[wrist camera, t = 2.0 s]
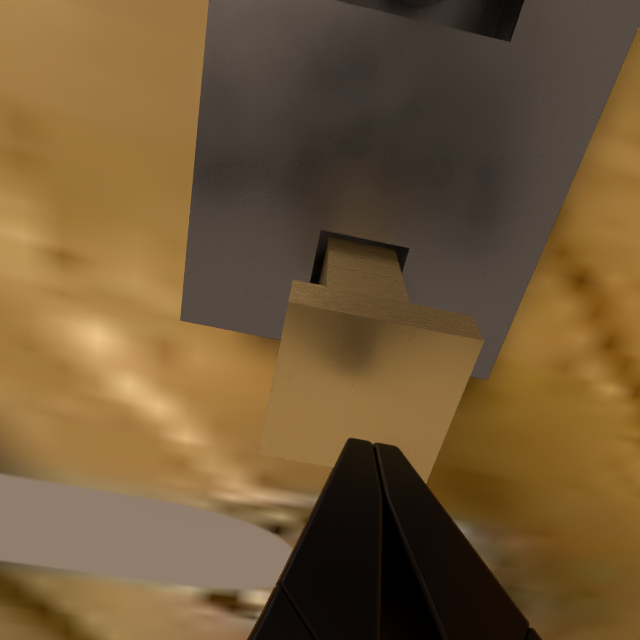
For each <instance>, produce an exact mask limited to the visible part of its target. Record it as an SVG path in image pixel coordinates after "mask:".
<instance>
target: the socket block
mask: <svg viewBox="0 0 640 640" xmlns="http://www.w3.org/2000/svg"><path fill="white" fill-rule="evenodd" d="M639 25H640V0H442V1H439V2H437V3H434V4H431V5H426V6H413V5H408V4H405V3H402V2H400V1H398V0H209V7H208V18H207V29H206V40H205V51H204V63H203V74H202V85H201V96H200V107H199V118H198V129H197V140H196V151H195V162H194V174H193V185H192V196H191V207H190V218H189V229H188V240H187V251H186V262H185V273H184V284H183V296H182V307H181V318H180V321H185V322H190V323H195V324H201V325H206V326H211V327H216V328H221V329H226V330H232V331H237V332H242V333H247V334H252V335H257V336H263V337H268V338H273V339H278V340H281V337H282V332H283V326H284V321H285V316H286V311H287V306H288V301H289V296H290V291H291V286H292V281H293V280H297V281H302V282H307V283H312V284H317V285H319V280H320V276H321V271H322V267H323V262H324V258H325V253H326V249H327V244H328V240H329V236H331V237H336V238H341V239H345V240H350V241H355V242H360V243H365V244H369V245H374V246H379V247H384V248H389V249H393V250H395V251H396V255H397V259H398V262H399V266H400V269H401V273H402V276H403V280H404V283H405V287H406V291H407V294H408V298H409V301H410V303H412V304H417V305H421V306H426V307H431V308H436V309H441V310H446V311H451V312H456V313H461V314H466V315H471V316H472V317H473V319H474V321H475V323H476V325H477V327H478V329H479V331H480V333H481V335H482V337H483V339H484V343H483V346H482V348H481V351H480V353H479V355H478V358H477V360H476V363H475V365H474V368H473V370H472V373H471V375H470V377H474V378H480V379H485V380H487V379H488V377H489V375H490V372H491V370H492V368H493V365H494V363H495V361H496V358H497V356H498V354H499V351H500V349H501V347H502V344H503V342H504V340H505V337H506V335H507V333H508V330H509V328H510V326H511V323H512V321H513V319H514V316H515V314H516V312H517V309H518V307H519V305H520V302H521V300H522V298H523V295H524V293H525V291H526V288H527V286H528V284H529V281H530V279H531V277H532V274H533V272H534V270H535V267H536V265H537V263H538V260H539V258H540V256H541V253H542V251H543V249H544V246H545V244H546V242H547V239H548V237H549V235H550V232H551V230H552V228H553V225H554V223H555V221H556V218H557V216H558V214H559V211H560V209H561V207H562V204H563V202H564V200H565V197H566V195H567V193H568V190H569V188H570V186H571V183H572V181H573V179H574V176H575V174H576V172H577V169H578V167H579V165H580V162H581V160H582V158H583V155H584V153H585V151H586V148H587V146H588V144H589V141H590V139H591V137H592V134H593V132H594V130H595V127H596V125H597V123H598V120H599V118H600V116H601V113H602V111H603V109H604V106H605V104H606V102H607V99H608V97H609V95H610V92H611V90H612V88H613V85H614V83H615V81H616V78H617V76H618V74H619V71H620V69H621V67H622V64H623V62H624V60H625V57H626V55H627V53H628V50H629V48H630V46H631V43H632V41H633V39H634V36H635V34H636V32H637V29H638V27H639Z"/></svg>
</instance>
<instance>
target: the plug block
mask: <svg viewBox="0 0 640 640" xmlns="http://www.w3.org/2000/svg"><path fill="white" fill-rule="evenodd" d="M483 343H484V339H483V337H482V335H481V333H480V331H479V329H478V327H477V325H476V323H475V321H474V319H473V317H472V316H471V315H466V314H461V313H456V312H451V311H446V310H441V309H436V308H431V307H426V306H421V305H417V304H412V303H410V301H409V298H408V294H407V291H406V287H405V283H404V280H403V276H402V273H401V269H400V266H399V262H398V259H397V255H396V251H395V250H393V249H389V248H384V247H379V246H374V245H369V244H365V243H360V242H355V241H350V240H345V239H341V238H336V237H331V236H329V240H328V244H327V249H326V253H325V258H324V262H323V267H322V271H321V276H320V280H319V285H317V284H312V283H307V282H302V281H297V280H293V281H292V286H291V291H290V296H289V301H288V306H287V311H286V316H285V321H284V326H283V332H282V337H281V342H280V347H279V352H278V357H277V362H276V367H275V372H274V377H273V382H272V388H271V393H270V398H269V403H268V408H267V413H266V418H265V423H264V428H263V433H262V438H261V444H260V449H259V454H258V455H263V456H268V457H274V458H279V459H285V460H291V461H296V462H302V463H307V464H313V465H319V466H324V467H330V468H333V467H334V465H335V463H336V461H337V459H338V457H339V455H340V453H341V451H342V449H343V447H344V445H345V443H346V441H347V439H348V438H357V439H362V440H367V441H370V442H371V443H372V444H374V443H376V442H378V443H384V444H389V445H394V446H397V447H398V448H399V449H400V450H401V451H402V453H403V454H404V455H405V457H406V458H407V459H408V461H409V462H410V463H411V465H412V466H413V467H414V469H415V470H416V471H417V473H418V474H419V475H420V477H421V478H422V479H423V481H424V482H425V484H426V483H427V480H428V478H429V475H430V473H431V471H432V468H433V466H434V463H435V461H436V458H437V456H438V453H439V451H440V448H441V446H442V444H443V441H444V439H445V436H446V434H447V431H448V429H449V426H450V424H451V422H452V419H453V417H454V414H455V412H456V409H457V407H458V404H459V402H460V399H461V397H462V395H463V392H464V390H465V387H466V385H467V382H468V380H469V377H470V375H471V373H472V370H473V368H474V365H475V363H476V360H477V358H478V355H479V353H480V351H481V348H482V346H483Z"/></svg>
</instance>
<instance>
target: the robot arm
mask: <svg viewBox="0 0 640 640" xmlns="http://www.w3.org/2000/svg"><path fill="white" fill-rule="evenodd" d="M247 640H542V639H541V637H540V636H539V635H538V633H537V632H536V631H535V629H533V628H529V622H528V620H527V619H526V618H525V616H524V615H523V614H522V612H521V611H520V610H519V608H518V607H517V606H516V604H515V603H514V602H513V600H512V599H511V598H510V596H509V595H508V593H507V592H506V591H505V589H504V588H503V587H502V585H501V584H500V583H499V581H498V580H497V579H496V577H495V576H494V575H493V573H492V572H491V571H490V569H489V568H488V567H487V565H486V564H485V563H484V561H483V560H482V559H481V557H480V556H479V555H478V553H477V552H476V551H475V549H474V548H473V547H472V545H471V544H470V543H469V541H468V540H467V538H466V537H465V536H464V534H463V533H462V532H461V530H460V529H459V528H458V526H457V525H456V524H455V522H454V521H453V520H452V518H451V517H450V516H449V514H448V513H447V512H446V510H445V509H444V508H443V506H442V505H441V504H440V502H439V501H438V500H437V498H436V497H435V496H434V494H433V493H432V492H431V490H430V489H429V488H428V486H427V485H426V484H425V482H424V481H423V479H422V478H421V477H420V475H419V474H418V473H417V471H416V470H415V469H414V467H413V466H412V465H411V463H410V462H409V461H408V459H407V458H406V457H405V455H404V454H403V453H402V451H401V450H400V449H399V448H398V447H397V446H394V445H389V444H384V443H378V442H376V443H374V444H372V443H371V442H370V441H367V440H362V439H357V438H348V439H347V441H346V443H345V445H344V447H343V449H342V451H341V453H340V455H339V457H338V459H337V461H336V463H335V465H334V467H333V469H332V471H331V473H330V475H329V477H328V479H327V481H326V483H325V485H324V487H323V489H322V492H321V494H320V496H319V498H318V500H317V502H316V504H315V506H314V508H313V510H312V512H311V514H310V516H309V518H308V520H307V522H306V524H305V526H304V528H303V530H302V532H301V534H300V536H299V538H298V540H297V542H296V544H295V546H294V549H293V551H292V553H291V555H290V557H289V559H288V561H287V563H286V565H285V567H284V569H283V571H282V573H281V575H280V577H279V579H278V581H277V583H276V587H275V588H274V589H273V591H272V593H271V595H270V597H269V599H268V601H267V603H266V605H265V607H264V609H263V611H262V613H261V615H260V617H259V618H258V620H257V622H256V624H255V626H254V628H253V630H252V631H251V633H250V635H249V637H248V639H247Z"/></svg>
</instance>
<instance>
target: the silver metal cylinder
mask: <svg viewBox="0 0 640 640" xmlns="http://www.w3.org/2000/svg"><path fill="white" fill-rule="evenodd" d="M398 1H400V2H402V3H405V4H408V5H413V6H426V5H431V4H434V3H437V2H439V1H442V0H398Z"/></svg>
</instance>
